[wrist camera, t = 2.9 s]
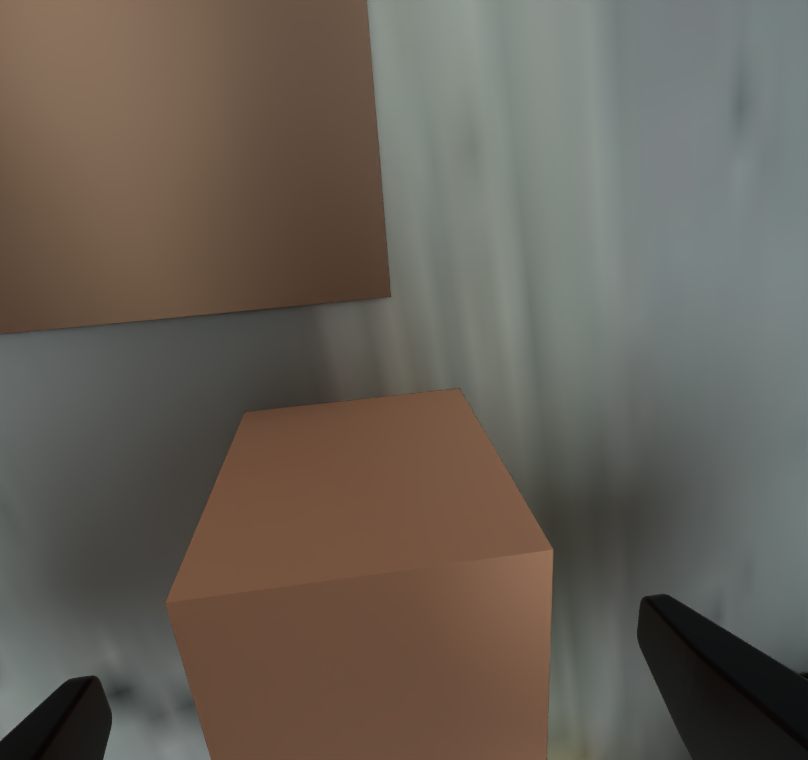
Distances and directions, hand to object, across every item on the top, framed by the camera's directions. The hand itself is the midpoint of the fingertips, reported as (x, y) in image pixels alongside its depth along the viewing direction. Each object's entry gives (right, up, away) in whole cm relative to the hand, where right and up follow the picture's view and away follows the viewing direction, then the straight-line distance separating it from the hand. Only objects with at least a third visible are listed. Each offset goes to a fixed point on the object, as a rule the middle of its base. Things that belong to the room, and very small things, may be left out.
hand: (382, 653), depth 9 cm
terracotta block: (-1, +2, +5) cm, 5 cm away
